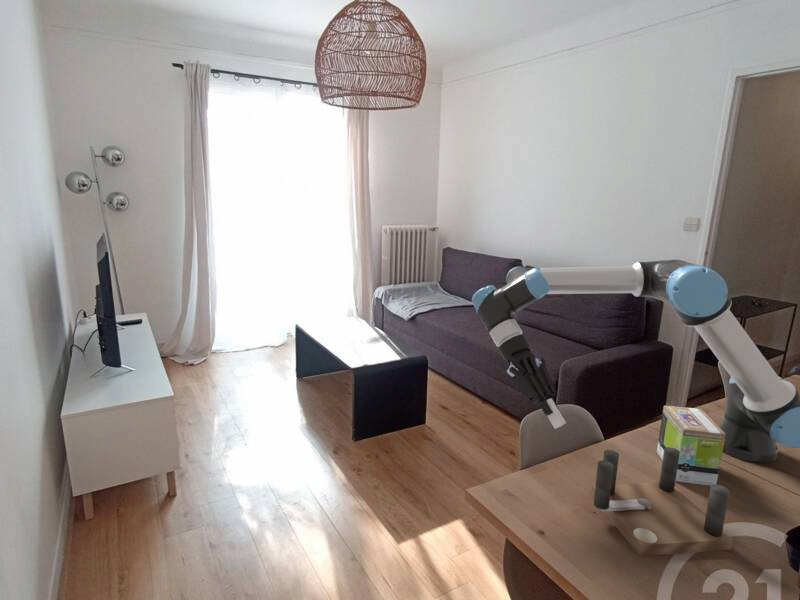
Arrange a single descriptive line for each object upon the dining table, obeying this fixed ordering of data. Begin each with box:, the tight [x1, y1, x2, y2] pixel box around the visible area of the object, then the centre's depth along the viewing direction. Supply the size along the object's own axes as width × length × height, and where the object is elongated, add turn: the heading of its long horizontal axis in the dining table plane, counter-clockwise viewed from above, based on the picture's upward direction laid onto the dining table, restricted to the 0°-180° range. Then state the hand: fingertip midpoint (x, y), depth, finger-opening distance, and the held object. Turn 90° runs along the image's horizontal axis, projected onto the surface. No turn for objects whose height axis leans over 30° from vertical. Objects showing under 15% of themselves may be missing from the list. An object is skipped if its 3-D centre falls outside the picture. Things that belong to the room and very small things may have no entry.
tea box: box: [656, 405, 725, 487], centre depth 125 cm, size 15×10×15 cm, turn 168°
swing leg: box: [593, 460, 651, 513], centre depth 104 cm, size 13×3×11 cm, turn 95°
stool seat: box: [590, 447, 734, 557], centre depth 104 cm, size 20×20×12 cm
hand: (560, 426), depth 111 cm, fingers closed
